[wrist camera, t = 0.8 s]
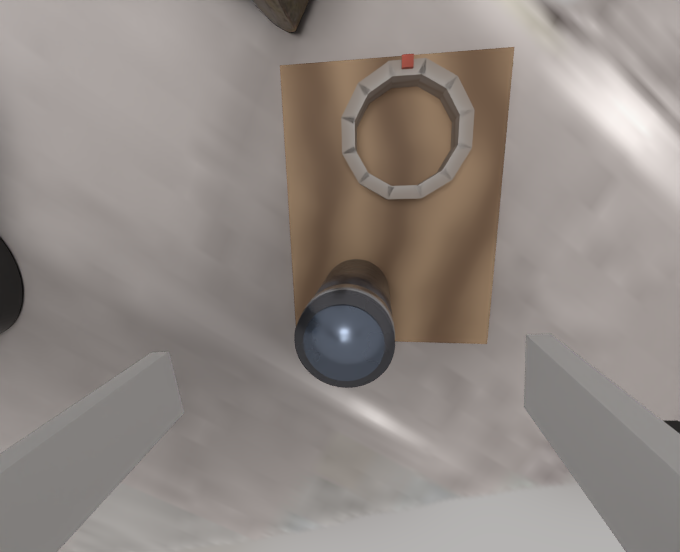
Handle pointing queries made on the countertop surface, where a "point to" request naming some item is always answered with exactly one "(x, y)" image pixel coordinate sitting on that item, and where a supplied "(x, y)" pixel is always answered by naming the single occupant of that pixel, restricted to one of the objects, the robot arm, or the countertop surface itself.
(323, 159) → the mount board
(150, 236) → the countertop surface
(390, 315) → the lens
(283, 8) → the vintage camera
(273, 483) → the countertop surface
